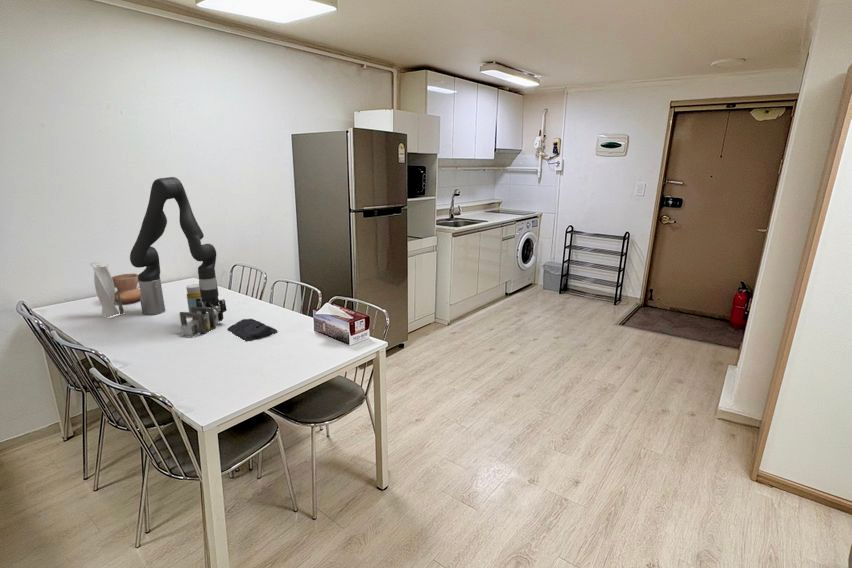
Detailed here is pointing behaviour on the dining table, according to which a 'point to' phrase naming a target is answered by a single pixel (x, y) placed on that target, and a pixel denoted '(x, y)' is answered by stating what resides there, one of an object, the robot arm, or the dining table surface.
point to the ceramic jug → (127, 287)
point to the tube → (196, 325)
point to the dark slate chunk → (251, 330)
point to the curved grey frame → (200, 318)
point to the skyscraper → (106, 290)
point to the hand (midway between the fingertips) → (212, 319)
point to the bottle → (193, 295)
